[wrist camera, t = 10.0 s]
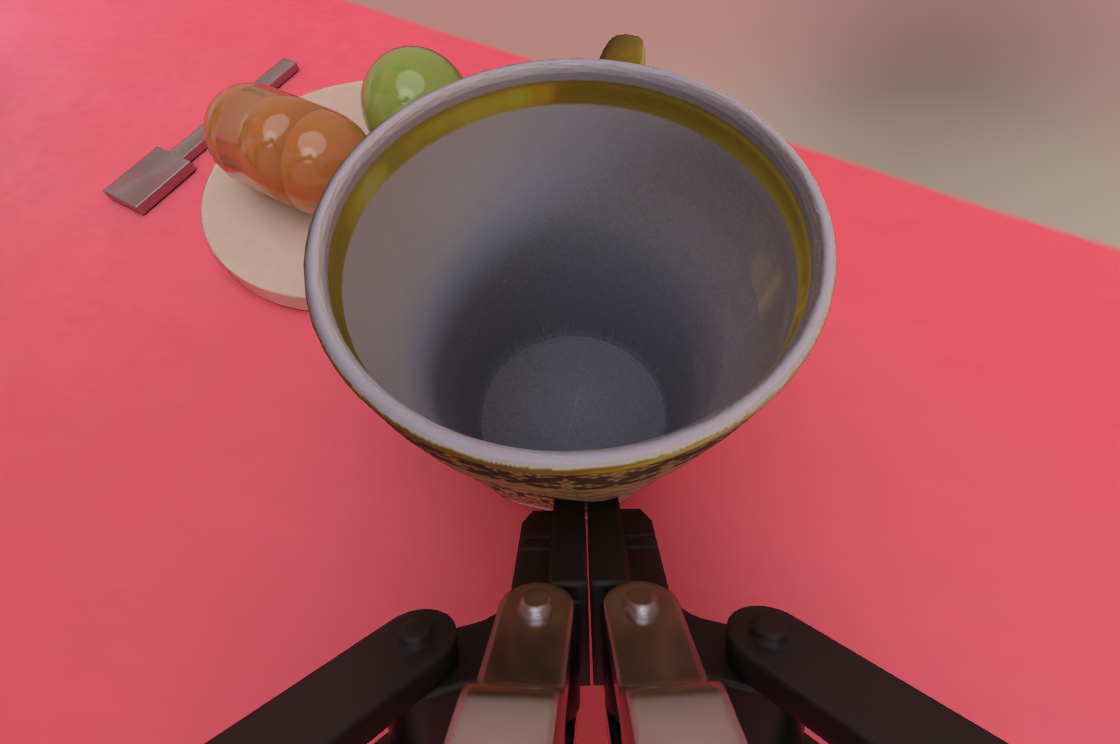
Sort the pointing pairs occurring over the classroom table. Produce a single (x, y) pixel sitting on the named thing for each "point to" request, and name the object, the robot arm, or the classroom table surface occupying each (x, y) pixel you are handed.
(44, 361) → the classroom table surface
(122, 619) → the classroom table surface
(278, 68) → the metal spatula
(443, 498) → the classroom table surface
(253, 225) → the lunch plate
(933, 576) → the classroom table surface
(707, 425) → the ceramic cup
